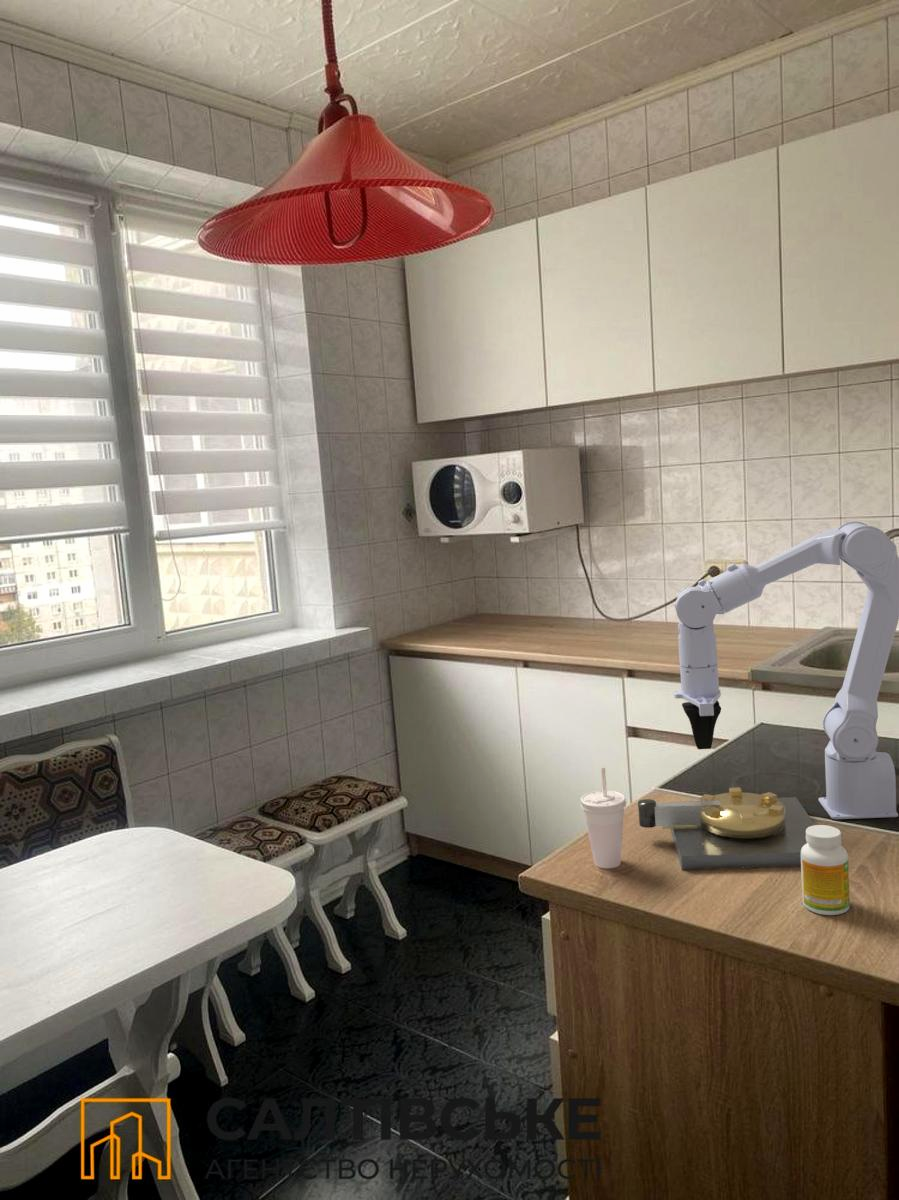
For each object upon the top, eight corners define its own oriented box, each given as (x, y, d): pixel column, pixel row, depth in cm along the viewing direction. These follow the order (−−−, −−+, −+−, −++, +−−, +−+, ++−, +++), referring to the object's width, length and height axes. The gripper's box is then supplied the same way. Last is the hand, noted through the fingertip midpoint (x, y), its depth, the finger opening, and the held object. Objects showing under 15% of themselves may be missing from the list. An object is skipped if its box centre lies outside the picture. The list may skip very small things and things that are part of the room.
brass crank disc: (776, 804, 137) (775, 783, 136) (794, 837, 125) (793, 813, 124) (637, 809, 140) (635, 788, 139) (641, 841, 128) (640, 818, 128)
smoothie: (639, 859, 128) (632, 765, 126) (614, 876, 123) (607, 779, 122) (601, 849, 132) (594, 758, 130) (576, 866, 128) (568, 771, 126)
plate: (796, 809, 140) (795, 796, 140) (833, 865, 121) (833, 850, 121) (656, 814, 143) (655, 802, 143) (670, 870, 124) (669, 855, 124)
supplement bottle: (854, 917, 107) (852, 840, 106) (807, 916, 109) (803, 840, 107) (844, 895, 113) (841, 822, 111) (799, 895, 114) (796, 822, 112)
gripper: (668, 656, 148) (673, 735, 150) (676, 676, 134) (682, 764, 136) (712, 653, 147) (717, 733, 149) (725, 673, 133) (730, 761, 135)
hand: (703, 747), depth 142 cm, fingers closed
